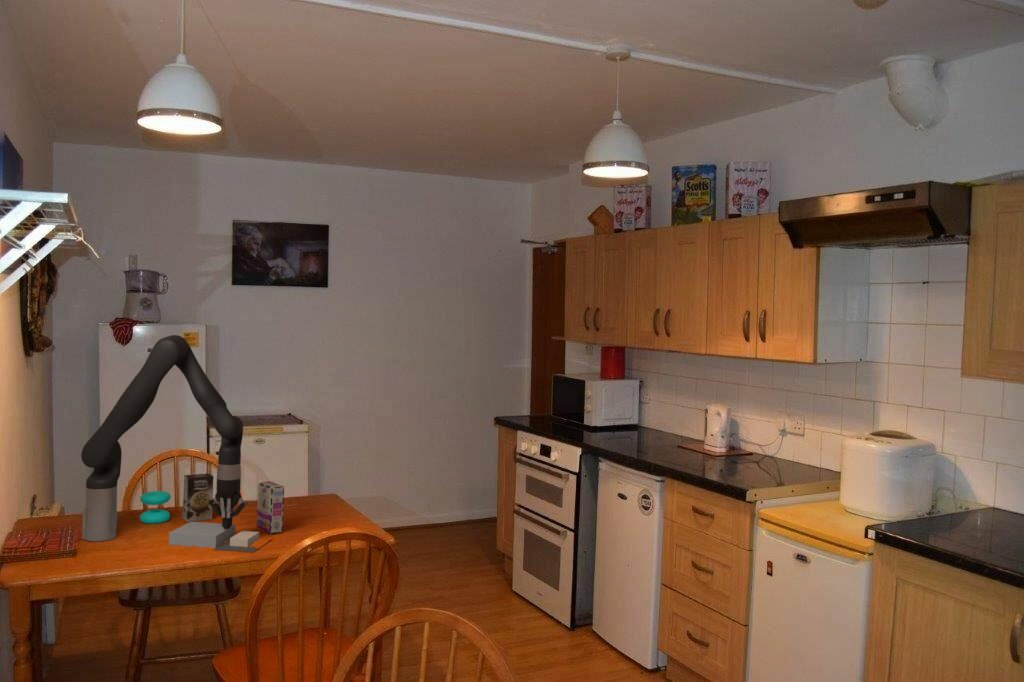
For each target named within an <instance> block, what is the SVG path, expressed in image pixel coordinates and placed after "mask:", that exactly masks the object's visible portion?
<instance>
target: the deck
mask: <svg viewBox="0 0 1024 682" xmlns="http://www.w3.org/2000/svg"><path fill="white" fill-rule="evenodd" d="M234 535H236V524H232V526H231V527H230V528H229V529H223V527H222V523H215V522H200V521H192V522H187V523H185V524H184V525H181V526H180V527H178V528H175V529H174V530H171V531H170V532H168V545H169V546H178V545H180V547H182V546H183V547H193V546H196V547H195V548H207V547H209V548H211V549H215V548H216V547H219V546H220V545H221V544H222V543H223V544H224V542H225V541H227V540H228V541H229V539H230V538H231V537H233V536H234Z"/></svg>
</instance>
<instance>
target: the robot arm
mask: <svg viewBox="0 0 1024 682" xmlns="http://www.w3.org/2000/svg"><path fill="white" fill-rule="evenodd" d="M174 366H175V367H176V368H178V369H179V370H180V372H181V373H182V375H183V376H184V377H185V379H186V381H187V384H188V386H189V388H190V391H191V393H192V395H193V397H194V399H195V401H196V402H197V403H198V405H199V406H200V408H202V410H203V412H204V413H205V414H206V415H207V416H208V418H209V420H210V422H211V424H212V425H213V428H214V429H215V430H216V432H217V433H218V435H219V436H220V437H221V438H220V441H221V443H220V446H219V449H218V459H217V460H218V462H217V470H216V488H215V489H216V492H215V495H214V497H213V499H211V500H209V504H210V505H211V507H212V511H214V513H215V514H216V516H218V517H221V524H222V527H223V529H229V528H230V527H231V526H232V525H233V518H234V517H236V516H238V515H240V513H241V512H242V510H244V509H245V507H246V505H247V504H248V501H247V500H243V498H242V494H241V481H242V464H241V463H242V461H241V460H242V459H241V458H242V455H241V454H242V452H241V451H242V447H241V446H242V442H243V436H244V435H243V433H244V423H243V421H242V420H241V418H240V417H238V416H237V415H232V413H231V411H230V410H229V409H228V407H227V402H226V401H225V399H224V398H223V397H222V395H221V394H220V393H219V391H218V390H217V389H216V387H215V386H214V385H213V383H212V382H211V380H210V378H209V377H208V376H207V375H206V373H205V372H204V370H203V368H202V366H201V365H200V363H199V361H198V360H197V358H196V356H195V354H194V352H193V349H192V348H191V346H190V344H189V343H188V341H187V340H186V339H185V338H184V337H183V336H181V335H177V334H174V335H172V334H171V335H167V336H165V337H162V338H160V339H159V340H158V341H156V342H155V344H154V346H153V347H152V349H151V351H150V353H149V355H148V356H147V358H146V360H145V363H144V364H143V366H142V367H141V368H140V370H139V371H138V373H137V374H136V375H135V377H133V379H132V380H131V382H130V383H129V384H128V386H127V387H126V388H125V390H124V391H123V392H122V394H121V395H120V397H119V398H118V399H117V402H116V403H115V405H114V406H113V408H112V409H111V411H110V412H109V413H108V415H107V416H106V418H105V420H104V422H103V423H102V424H101V425H100V426H99V428H98V429H97V430H96V431H95V432H94V433H93V434H92V436H91V437H90V438H89V440H87V441H86V443H85V444H84V445H83V447H82V450H81V454H80V456H81V461H82V463H83V464H84V466H86V467H88V468H91V469H93V470H92V472H91V474H90V475H89V476H88V477H87V478H86V480H85V509H83V510H82V523H81V524H82V525H81V526H82V529H81V539H82V540H85V541H87V542H88V541H89V542H106V541H109V540H113V539H115V538H116V537H117V518H118V517H117V513H118V511H117V510H118V481H119V479H120V477H121V476H120V475H121V469H122V452H123V451H122V446H121V444H120V442H119V440H120V438H121V437H122V436H123V435H125V434H126V432H128V431H129V430H130V429H132V428H133V427H134V426H135V425H136V424H137V423H138V422H140V420H142V418H143V417H144V415H145V414H146V413H147V411H148V410H149V408H150V407H151V406H152V404H153V403H154V401H155V399H156V396H157V394H158V392H159V387H160V385H161V384H162V383H161V382H162V381H163V380H164V378H165V377H166V375H167V374H168V373H169V372H170V370H172V368H173V367H174ZM236 505H237V508H236Z"/></svg>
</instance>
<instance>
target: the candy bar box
mask: <svg viewBox="0 0 1024 682" xmlns="http://www.w3.org/2000/svg"><path fill="white" fill-rule="evenodd" d="M284 499H285V486H284V485H281V484H279V483H275V482H273V481H270V480H269V481H262V482H258V483H257V509H256V510H257V513H256V516H257V517H256V528H257V527H258V528H260V529H262V530H264V531H266V532H265V533H267V532H268V533H267V534H269V533H270V534H269V535H272V534H271V533H277V532H282V531H283V529H284V526H283V525H284V502H285V500H284ZM258 528H257V529H258ZM260 529H259V530H260ZM262 530H261V531H262ZM264 531H263V532H264ZM282 533H283V532H282ZM277 534H278V533H277Z"/></svg>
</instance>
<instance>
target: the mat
mask: <svg viewBox="0 0 1024 682" xmlns="http://www.w3.org/2000/svg"><path fill="white" fill-rule="evenodd" d="M250 546H251V545H250ZM252 547H253V546H252ZM213 550H214V551H221V550H222V551H223V552H224V551H225V552H235V551H243V552H242V553H249V552H253V553H255V552H256V551H258V550H257V548H255V547H253V548H251V547H249V546H248V547H247V548H246V547H240V546H230V540H228V541H227V542H225V543H223V544H222V545H220V546H218V547H217V548H213ZM255 550H256V551H255ZM254 551H255V552H254Z"/></svg>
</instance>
